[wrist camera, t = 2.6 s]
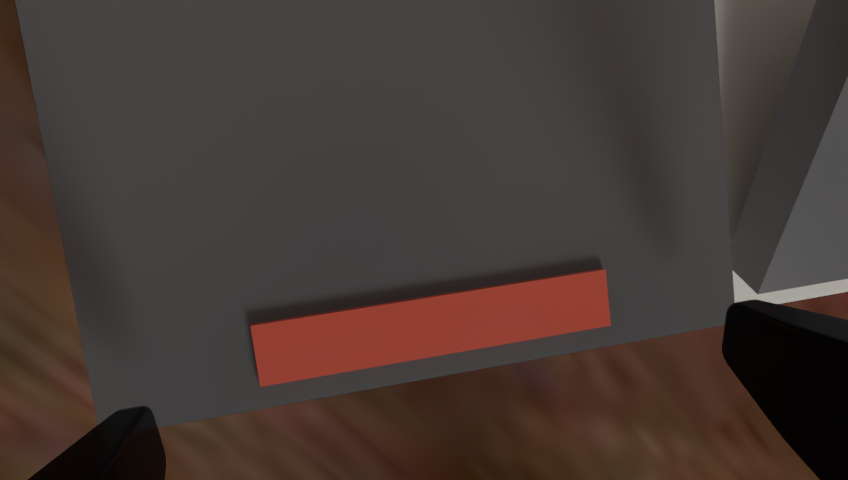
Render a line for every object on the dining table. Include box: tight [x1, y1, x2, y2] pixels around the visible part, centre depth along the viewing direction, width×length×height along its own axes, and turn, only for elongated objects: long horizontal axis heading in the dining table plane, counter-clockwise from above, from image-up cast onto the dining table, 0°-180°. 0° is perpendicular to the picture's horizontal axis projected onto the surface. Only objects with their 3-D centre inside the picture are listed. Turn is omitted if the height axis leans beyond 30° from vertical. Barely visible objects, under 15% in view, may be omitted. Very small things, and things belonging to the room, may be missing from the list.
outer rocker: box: [15, 0, 735, 427], centre depth 10 cm, size 11×7×1 cm, turn 94°
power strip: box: [714, 0, 848, 304], centre depth 14 cm, size 25×10×4 cm, turn 94°
